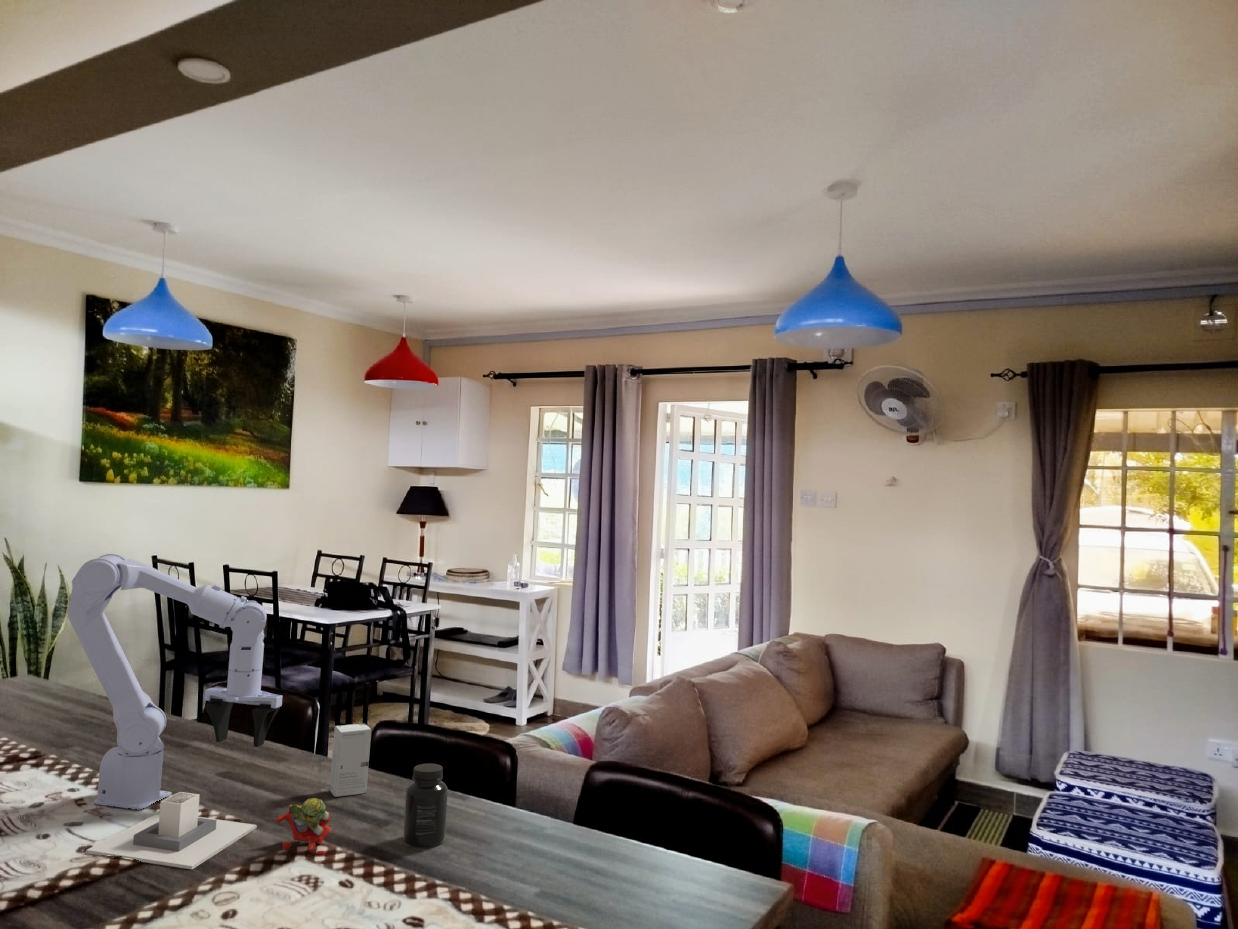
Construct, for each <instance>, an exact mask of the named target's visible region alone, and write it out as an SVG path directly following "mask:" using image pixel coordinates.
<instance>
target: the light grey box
mask: <svg viewBox="0 0 1238 929" xmlns="http://www.w3.org/2000/svg"><path fill="white" fill-rule="evenodd" d="M199 808H200V794H199V793H191V792H183V791H179V792H177V793H174V794H173V795H170V796H168V797H166V798H164V799H162V800H160V808H159V812H160V818H159V831H158V835H164V836H171V837H177V838H178V837H180V836H182V835H184V834H185V833H187V832H189V831H190V830H192V829H194V828H196V827H197V823H198V817H199Z"/></svg>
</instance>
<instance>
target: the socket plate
mask: <svg viewBox="0 0 1238 929" xmlns="http://www.w3.org/2000/svg"><path fill="white" fill-rule="evenodd" d="M159 818H160V811H159V812H157V813H156V814H153V815H151V816H149V817H148V818H146V819H144V820H142V821H140V822H138V823H136V824H134V825H132V826H130V827H128V828H126V829H125V830H123V831H121V832H118V833H116V834H115V835H113V836H111V837H109V838H106V839H104V840H103V841H100V842H99V843H97V844H95V845H94V846H93V845H92V847H91V846H90V847H89V848H87V849H86V852H85V853H86V854H89V855H96V856H101V855H111V856H113V855H115V856H122V857H129V858H132V859H136V860H139V861H138V862H140V861H141V863H146V864H147V863H148V864H153V865H162V866H166V867H174V868H180V869H187V870H193V869H195V868H197V867H198V866H200V865H201V864H203V863H204V862H206V861H208V860H209V859H211V858H212V857H214V856H216V855H217V854H218V853H219V852H221V851H224V850H225V849H226V848H228V847H229V846H231V845H232V844H234V843H235V842H238V841H239V840H240V839H242V838H243V837H245V836H246V835H247V834H249V833H251V832H253V831H255V830H256V829H257V826H258V825H257V824H253V823H245V822H239V821H231V820H226V819H225V820H223V819H216V818H209V817H204V816H203V817H202V816H198V823H197V827H196V828H194V829H192V830H190V831H189V832H187V833H185V834H184V835H182V836H180V837H178V838H177V837H171V836H164V835H158V831H159Z"/></svg>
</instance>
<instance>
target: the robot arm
mask: <svg viewBox="0 0 1238 929" xmlns="http://www.w3.org/2000/svg"><path fill="white" fill-rule="evenodd" d="M71 586H72V587H71V588H72V589H71V593H70V594H71V595H70V600H69V605H68V611H67V617H68V620H69V622H70V624H71V626H72V629H73V630H74V633H75V635H76V636H77V638H78V640H79V642H80V644H81V646H82V648H83V651H84V652H85V654H86V657H87V658H88V661H89V662H90V664H91V666H92V669H93V671H94V672H95V674H96V676H97V679H98V681H99V682H100V684H101V686H102V688H103V690H104V692H105V695H106V696H107V698H108V700H109V703H110V704H111V706H112V716H113V718H112V719H113V723H114V725H115V726H116V732H117V733H116V743H117V745H118V746H115V747H112V748H110V749H109V750H107V752H106V753H105V754H104V755H103V757H102V759H101V761H100V765H99V771H98V782H97V783H98V784H97V797H96V799H95V800H93V804H94V805H100V804H103V805H102V806H107V805H108V807H114V806H115V807H116V808H120V809H121V808H123V809H128V808H132V809H131V810H135V809H137V810H136V811H140V810H141V809H142V810H144V809H146V808H147V807H149V805H150V806H152V805H153V803H154V804H156V803H157V802H156V801H158V802H160V801H162V800H164V799H166V798H169V797H170V796H172V792H171V791H166V790H161V788H162V787H161V786H162V775H163V761H164V751H165V748H164V747H165V745H164V742H163V741H162V740H161V737H160V735H161V734H162V733H163V732H164V731H165V729H166V726H167V717H166V714H165V712H164V711H163V710H162V709H161V708H160V707H158V706H157V705H155V704H154V702H153V701H152V699H151V697H150V696H149V695H148V694H147V693H146V692H145V691H143V689H142V686H141V685H140V682H139V681H138V678H137V677H136V674H135V672H134V671H133V669H132V667H131V665H130V663H129V661H128V659H127V657H126V655H125V652H124V650H123V648H122V646H121V644H120V643H119V640H118V638H117V636H116V634H115V632H114V630H113V628H112V626H111V624H110V622H109V620H108V618H107V616H106V613H105V612H106V609H107V607H108V605H109V604H110V602H111V600H112V598H113V596H114V595H115V593H116V592H117V591H118V590H119V589H120V591H126V590H135V589H140V588H141V589H145V590H148V591H151V592H152V593H156V594H159V595H160V596H161V595H162V596H164V597H167V598H171V599H172V600H176V601H178V602H181V603H184V604H186V605H187V606H188V608H189V611H190V614H191V615H193V616H197V617H199V618H202V619H204V620H206V621H209V622H211V623H214V624H217V625H218V626H222V627H224V628H227V627H230V630H231V631H232V640H231V643H230V646H229V657H228V658H229V661H228V671H227V672H228V673H227V684H226V685H227V686H226V687H225V688H224V687H223V688H222V687H219V688H218V687H210V688H207V689H205V690H204V701H208V702H209V703H207V704H205V707H204V709H205V711H206V712H207V713H206V714H208V716H209V719H210V721H211V724H212V728H213V729H214V730H213V731H214V735H215V741H216V743H221V742H224V741H226V740H227V739H228V733H229V723H230V722H229V721H230V717H231V712H232V708H233V704H234V703H235V704H236V703H237V704H246V705H253V706H258V707H255V708H253V709H251V715H252V719H253V726H254V727H253V747H256V748H258V747H261V746H262V745H263V746H264V744H265V740H266V737H267V734H268V731H269V729H270V726H271V724H272V722H273V720H274V718H275V716H276V715H277V713H278V712H279V710H280V707H282V705H283V695H281V694H275V693H270V692H268V691H265V690H261V689H262V679H263V678H262V677H263V667H264V666H263V663H264V651H265V650H264V648H265V643H264V639H265V633H264V631H265V630H264V629H265V627H266V624H267V611H266V609H265V608H264V606H263V605H262V604H260V603H258V601H256V600H247V597H246V596H243V595H241V597H238V596H236V595H234V594H232V593H229V592H227V591H224V590H222V588H223V586H222V585H219V584H217V583H216V584H214V585H213V586H212V585H210V584H204V585H202V586H199V587H196V586H193V585H192V584H190V583H188V582H185V581H183V580H181V579H178V578H176V577H174V576H171V575H169V574H168V573H165V572H163V571H161V570H159V569H158V568H155V567H152V566H150V565H148V564H145V563H143V562H141V561H138V560H135V559H131V558H124V556H121V555H118V554H115V553H105V554H103V555H100V556H98V557H97V558H93V559H89V560H88V561H86V562H84V563H83V564H82V565H81V567H80V568H79V569H78V571H77V572H76V574H75V575H74V577H73V579H72V580H71ZM169 795H170V796H169ZM165 797H166V798H165ZM163 798H164V799H163ZM161 799H162V800H161ZM159 800H160V801H159ZM155 802H156V803H155ZM151 804H152V805H151ZM143 808H144V809H143ZM142 810H141V811H142Z"/></svg>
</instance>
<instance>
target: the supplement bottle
mask: <svg viewBox="0 0 1238 929" xmlns="http://www.w3.org/2000/svg"><path fill="white" fill-rule="evenodd" d="M443 771H444V769H443V766H442V765H440V764H437V763H421V764H418V765H416V766H414V767H413V771H412V772H413V775H412V781H413V782H411V783H410V784H408V786H407V788H406V790H405V802H404V819H403V821H404V822H403V837H402V838H403V841H404V843H405V844H406V846H409V847H412V848H415V849H416V848H417V849H428V848H429V849H430V848H432V847H434V848H435V847H436V846H439V845H441V844H442V843H443V842H444V841H445V839H446V838H445V837H446V829H447V828H446V827H447V826H446V824H447V812H448V811H447V809H448V795H449V794H448V786H447V785H446V783H445V782H444V781H442V780H443V778H444V776H443Z"/></svg>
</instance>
